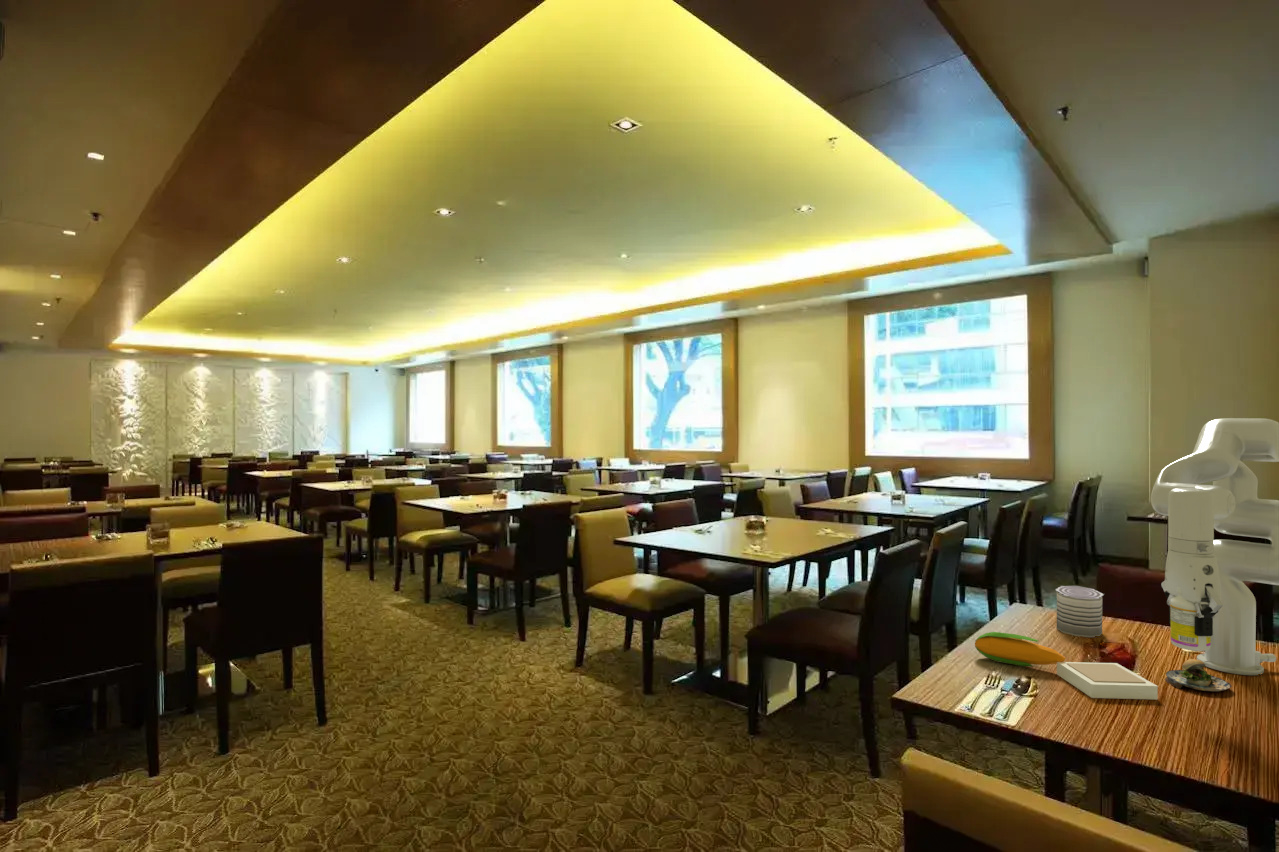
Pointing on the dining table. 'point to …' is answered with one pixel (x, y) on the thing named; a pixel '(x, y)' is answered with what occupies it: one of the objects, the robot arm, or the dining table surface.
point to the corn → (1016, 650)
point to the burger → (1195, 677)
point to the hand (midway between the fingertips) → (1190, 629)
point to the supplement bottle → (1186, 625)
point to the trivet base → (1106, 680)
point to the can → (1079, 611)
